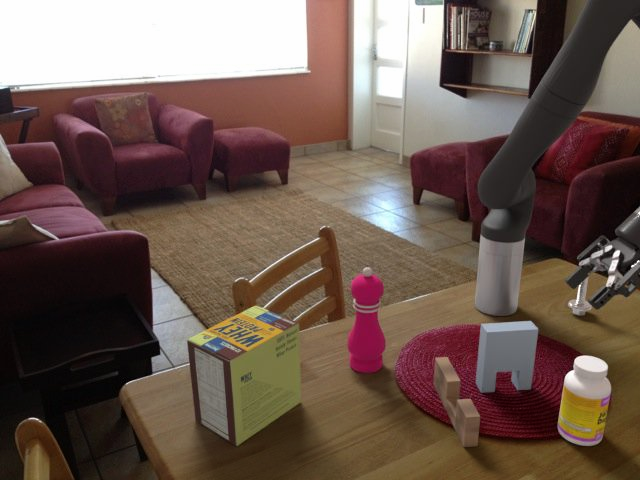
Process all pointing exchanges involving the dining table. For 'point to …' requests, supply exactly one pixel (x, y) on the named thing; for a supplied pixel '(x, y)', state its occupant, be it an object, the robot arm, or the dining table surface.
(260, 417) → the protein box
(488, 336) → the pale blue notched block
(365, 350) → the pepper mill
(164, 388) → the dining table surface
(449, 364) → the wooden notched block
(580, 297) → the screw
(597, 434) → the supplement bottle
